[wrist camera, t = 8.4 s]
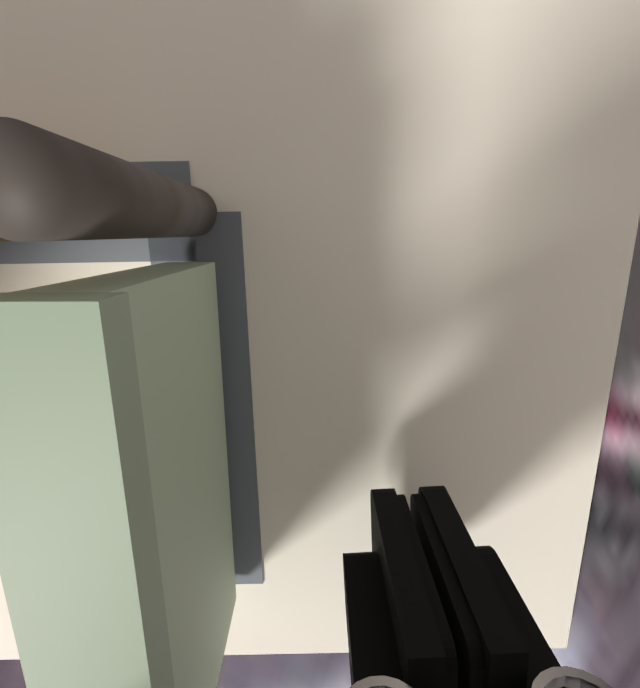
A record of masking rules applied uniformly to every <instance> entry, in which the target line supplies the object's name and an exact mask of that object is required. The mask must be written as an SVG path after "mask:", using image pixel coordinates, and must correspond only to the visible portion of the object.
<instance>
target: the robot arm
mask: <svg viewBox="0 0 640 688" xmlns="http://www.w3.org/2000/svg"><path fill="white" fill-rule="evenodd" d="M370 503H371V537H372V552H358V553H343V572H344V591H345V607H346V621H347V635H348V648H349V660H350V673H351V687H350V688H613V687H612V686H611V685H609V684H608V683H606V682H605V681H604V680H602V679H601V678H599V677H597V676H595V675H592V674H590V673H588V672H586V671H584V670H580V669H576V668H572V667H568V666H563V667H561V666H560V664H559V663H558V661H557V659H556V657H555V656H554V654H553V652H552V650H551V648H550V647H549V645H548V643H547V641H546V640H545V638H544V636H543V634H542V632H541V631H540V629H539V627H538V625H537V624H536V622H535V620H534V618H533V617H532V615H531V613H530V611H529V609H528V608H527V606H526V604H525V602H524V601H523V599H522V597H521V595H520V593H519V592H518V590H517V588H516V586H515V585H514V583H513V581H512V579H511V578H510V576H509V574H508V572H507V570H506V569H505V567H504V565H503V563H502V562H501V560H500V558H499V556H498V554H497V553H496V551H495V550H494V549H493V548H492V547H491V546H475V545H474V543H473V541H472V539H471V537H470V535H469V533H468V531H467V529H466V527H465V525H464V523H463V521H462V519H461V517H460V515H459V513H458V511H457V509H456V507H455V505H454V503H453V501H452V499H451V497H450V495H449V493H448V491H447V489H446V488H445V486H425V487H419V490H418V494H411V496H410V509H409V506H408V503H407V500H406V497H405V495H404V494H400V495H397V494H396V491H395V489H394V488H388V489H371V491H370Z"/></svg>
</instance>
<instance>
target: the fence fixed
mask: <svg viewBox="0 0 640 688" xmlns="http://www.w3.org/2000/svg"><path fill="white" fill-rule="evenodd" d="M216 216H217V208H216V204H215V202H214V200H213V199H212V197H211V196H210V195H209V194H208V193H207V192H205V191H204V190H202V189H199V188H197V187H194V186H191V185H189V184H186V183H184V182H181V181H178V180H176V179H173V178H170V177H168V176H165V175H163V174H160V173H157V172H155V171H152V170H150V169H147V168H144V167H142V166H139V165H136V164H134V163H131V162H129V161H126V160H123V159H121V158H118V157H115V156H113V155H110V154H108V153H105V152H102V151H100V150H97V149H95V148H92V147H89V146H87V145H84V144H81V143H79V142H76V141H74V140H71V139H68V138H66V137H63V136H61V135H58V134H55V133H53V132H50V131H47V130H45V129H42V128H40V127H37V126H34V125H32V124H29V123H27V122H24V121H21V120H18V119H14V118H9V117H0V241H16V242H37V241H71V240H104V239H138V238H172V237H198V236H202V235H204V234H206V233H208V232H209V231H210V230H211V229H212V227H213V226H214V224H215V221H216Z"/></svg>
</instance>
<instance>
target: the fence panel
mask: <svg viewBox="0 0 640 688" xmlns="http://www.w3.org/2000/svg"><path fill="white" fill-rule="evenodd" d="M0 577H1V581H2V585H3V589H4V594H5V598H6V602H7V607H8V611H9V615H10V619H11V624H12V628H13V632H14V636H15V641H16V645H17V649H18V653H19V658H20V662H21V666H22V670H23V675H24V679H25V683H26V687H27V688H217V684H218V679H219V675H220V670H221V666H222V661H223V657H224V652H225V647H226V643H227V638H228V634H229V629H230V625H231V620H232V615H233V611H234V606H235V602H236V584H235V569H234V553H233V537H232V522H231V506H230V490H229V475H228V459H227V444H226V428H225V412H224V397H223V381H222V365H221V350H220V334H219V319H218V303H217V287H216V272H215V262H164V263H159V264H154V265H149V266H143V267H138V268H133V269H128V270H123V271H117V272H112V273H107V274H102V275H97V276H91V277H86V278H81V279H76V280H71V281H65V282H60V283H55V284H50V285H45V286H39V287H34V288H29V289H24V290H19V291H13V292H5V293H0Z"/></svg>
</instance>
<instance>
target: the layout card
mask: <svg viewBox="0 0 640 688" xmlns="http://www.w3.org/2000/svg"><path fill="white" fill-rule="evenodd" d="M0 117H9V118H14V119H18V120H21V121H24V122H27V123H29V124H32V125H34V126H37V127H40V128H42V129H45V130H47V131H50V132H53V133H55V134H58V135H61V136H63V137H66V138H68V139H71V140H74V141H76V142H79V143H81V144H84V145H87V146H89V147H92V148H95V149H97V150H100V151H102V152H105V153H108V154H110V155H113V156H115V157H118V158H121V159H123V160H126V161H129V162H131V163H134V164H136V165H139V166H142V167H144V168H147V169H150V170H152V171H155V172H157V173H160V174H163V175H165V176H168V177H170V178H173V179H176V180H178V181H181V182H184V183H186V184H189V185H191V186H194V187H197V188H199V189H202V190H204V191H205V192H207V193H208V194H209V195H210V196H211V197H212V199H213V200H214V202H215V204H216V208H217V216H216V221H215V224H214V226H213V227H212V229H211V230H210V231H209V232H208V233H206V234H204V235H202V236H198V237H172V238H138V239H104V240H71V241H37V242H16V241H0V293H5V292H13V291H19V290H24V289H29V288H34V287H39V286H45V285H50V284H55V283H60V282H65V281H71V280H76V279H81V278H86V277H91V276H97V275H102V274H107V273H112V272H117V271H123V270H128V269H133V268H138V267H143V266H149V265H154V264H159V263H164V262H215V272H216V287H217V303H218V319H219V334H220V350H221V365H222V381H223V397H224V412H225V428H226V444H227V459H228V475H229V490H230V506H231V522H232V537H233V553H234V569H235V584H236V602H235V606H234V611H233V615H232V620H231V625H230V629H229V634H228V638H227V643H226V647H225V652H224V655H250V654H299V653H347V652H349V648H348V635H347V621H346V607H345V591H344V572H343V553H358V552H372V537H371V503H370V491H371V489H388V488H394V489H395V491H396V494H397V495H400V494H404V495H405V497H406V500H407V503H408V506H409V509H410V496H411V494H418V490H419V487H425V486H445V488H446V489H447V491H448V493H449V495H450V497H451V499H452V501H453V503H454V505H455V507H456V509H457V511H458V513H459V515H460V517H461V519H462V521H463V523H464V525H465V527H466V529H467V531H468V533H469V535H470V537H471V539H472V541H473V543H474V545H475V546H491V547H492V548H493V549H494V550H495V551H496V553H497V554H498V556H499V558H500V560H501V562H502V563H503V565H504V567H505V569H506V570H507V572H508V574H509V576H510V578H511V579H512V581H513V583H514V585H515V586H516V588H517V590H518V592H519V593H520V595H521V597H522V599H523V601H524V602H525V604H526V606H527V608H528V609H529V611H530V613H531V615H532V617H533V618H534V620H535V622H536V624H537V625H538V627H539V629H540V631H541V632H542V634H543V636H544V638H545V640H546V641H547V643H548V645H549V647H550V648H567V642H568V636H569V630H570V624H571V618H572V612H573V607H574V601H575V595H576V589H577V583H578V577H579V571H580V565H581V559H582V553H583V548H584V542H585V536H586V530H587V524H588V518H589V512H590V506H591V500H592V494H593V489H594V483H595V477H596V471H597V465H598V459H599V453H600V447H601V441H602V435H603V429H604V424H605V418H606V412H607V406H608V400H609V394H610V388H611V382H612V376H613V370H614V365H615V359H616V353H617V347H618V341H619V335H620V329H621V323H622V317H623V311H624V306H625V300H626V294H627V288H628V282H629V276H630V270H631V264H632V258H633V252H634V247H635V241H636V235H637V229H638V223H639V217H640V0H0ZM7 659H20V658H19V653H18V649H17V645H16V641H15V636H14V632H13V628H12V624H11V619H10V615H9V611H8V607H7V602H6V598H5V594H4V589H3V585H2V581H1V577H0V660H7Z"/></svg>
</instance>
